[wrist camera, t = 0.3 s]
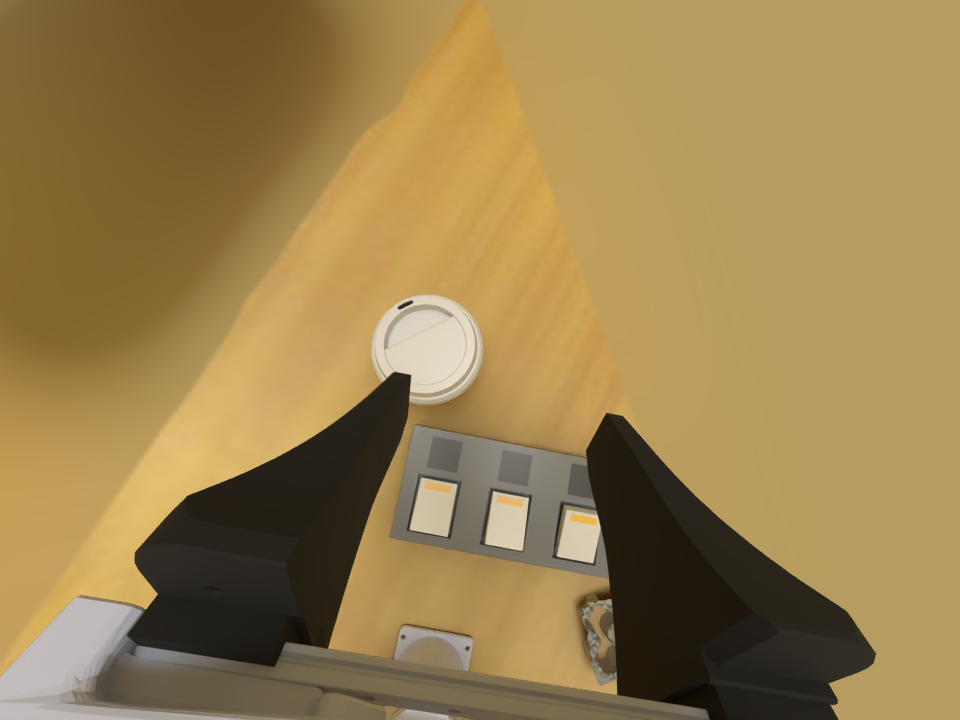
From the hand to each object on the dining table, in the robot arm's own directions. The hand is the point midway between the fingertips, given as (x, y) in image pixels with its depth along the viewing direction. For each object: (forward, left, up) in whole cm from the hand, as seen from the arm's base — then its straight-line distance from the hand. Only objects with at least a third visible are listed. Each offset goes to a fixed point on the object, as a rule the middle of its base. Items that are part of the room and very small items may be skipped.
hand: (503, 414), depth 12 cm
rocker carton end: (-10, -14, -26) cm, 31 cm away
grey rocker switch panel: (-8, -6, -29) cm, 31 cm away
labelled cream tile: (-10, +2, -26) cm, 28 cm away
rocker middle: (-10, -6, -26) cm, 29 cm away
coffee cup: (+5, +5, -29) cm, 30 cm away
